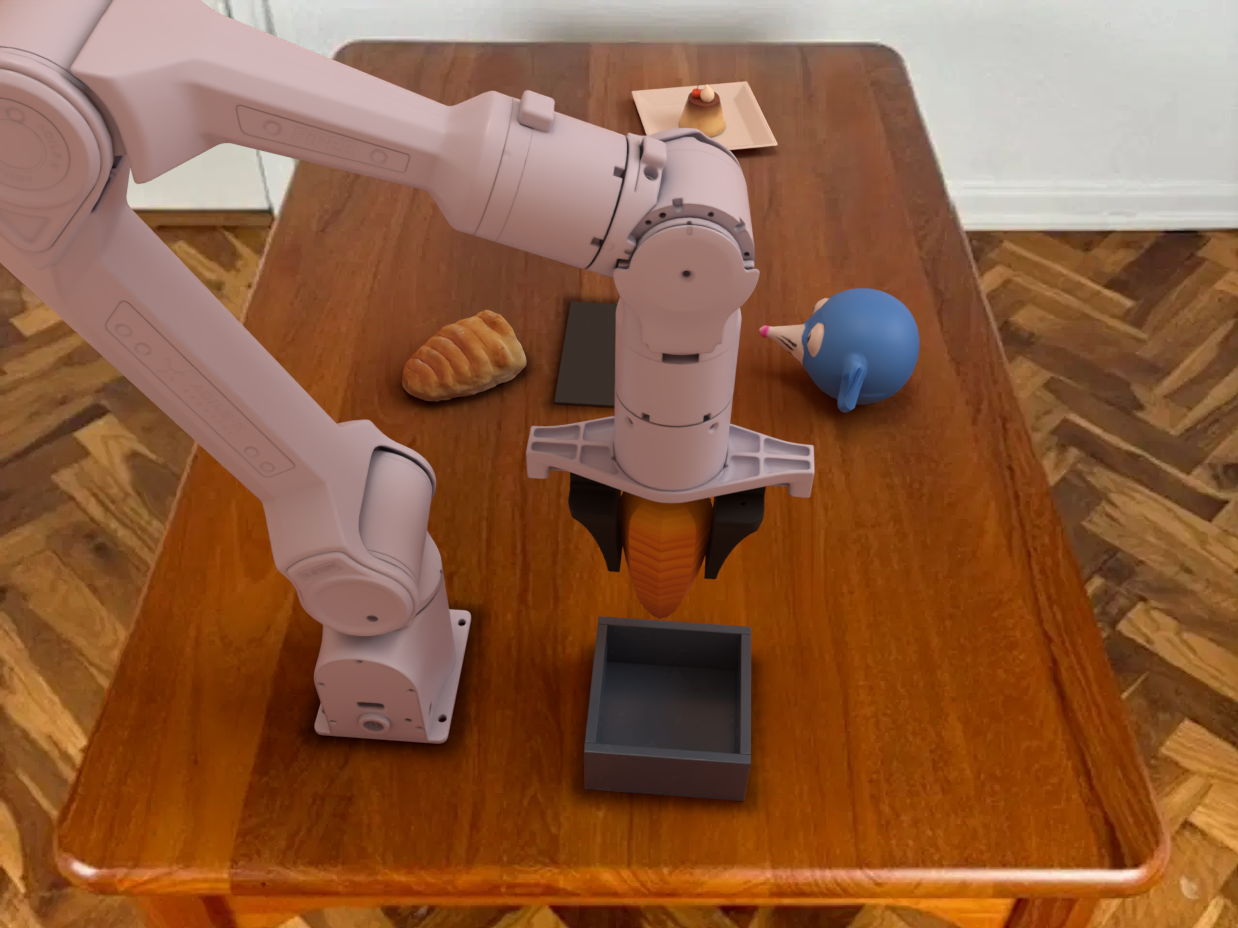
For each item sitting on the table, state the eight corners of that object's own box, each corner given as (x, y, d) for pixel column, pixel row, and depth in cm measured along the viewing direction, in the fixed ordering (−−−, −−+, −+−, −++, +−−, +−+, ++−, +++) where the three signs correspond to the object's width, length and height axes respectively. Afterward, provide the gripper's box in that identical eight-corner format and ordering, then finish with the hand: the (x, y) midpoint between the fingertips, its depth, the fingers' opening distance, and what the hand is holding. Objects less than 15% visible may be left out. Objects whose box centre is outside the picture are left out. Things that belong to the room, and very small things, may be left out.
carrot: (601, 607, 71) (601, 431, 60) (666, 568, 73) (677, 391, 62) (652, 664, 69) (662, 490, 58) (719, 622, 71) (740, 446, 60)
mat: (685, 411, 90) (686, 409, 90) (554, 403, 91) (554, 401, 91) (691, 309, 98) (691, 308, 98) (570, 303, 99) (570, 301, 99)
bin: (744, 801, 69) (750, 764, 65) (584, 789, 69) (583, 751, 66) (745, 666, 75) (751, 626, 72) (598, 655, 75) (598, 615, 72)
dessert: (630, 101, 121) (631, 57, 117) (746, 91, 122) (750, 47, 119) (653, 166, 113) (655, 121, 109) (777, 155, 114) (782, 110, 111)
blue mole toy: (764, 323, 97) (775, 238, 91) (912, 345, 96) (933, 261, 89) (741, 424, 89) (751, 339, 83) (902, 451, 88) (924, 366, 81)
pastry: (432, 424, 89) (426, 386, 86) (385, 376, 93) (378, 339, 90) (534, 371, 93) (532, 334, 90) (485, 327, 97) (481, 290, 94)
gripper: (823, 340, 60) (792, 516, 70) (535, 321, 60) (545, 499, 70) (828, 441, 55) (793, 615, 65) (514, 419, 56) (528, 595, 66)
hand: (663, 561), depth 67 cm, fingers closed on carrot, 5 cm apart
